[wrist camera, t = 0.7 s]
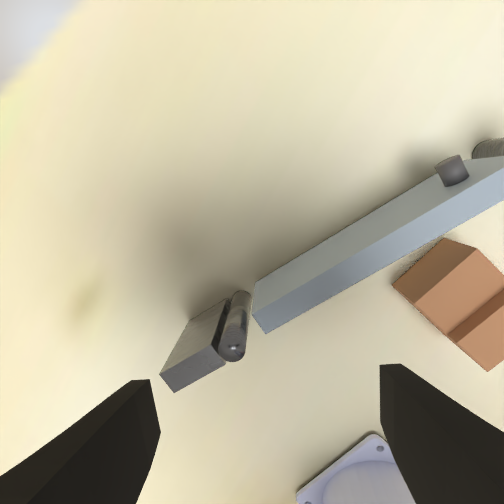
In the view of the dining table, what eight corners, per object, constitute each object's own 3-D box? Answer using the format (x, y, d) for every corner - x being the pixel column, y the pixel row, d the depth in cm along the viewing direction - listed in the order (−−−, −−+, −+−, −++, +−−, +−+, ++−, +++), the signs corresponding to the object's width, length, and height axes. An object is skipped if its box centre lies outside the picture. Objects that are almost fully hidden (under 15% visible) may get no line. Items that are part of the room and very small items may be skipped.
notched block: (496, 291, 18) (555, 320, 14) (444, 334, 19) (487, 372, 15) (442, 237, 17) (489, 252, 14) (390, 284, 18) (422, 310, 15)
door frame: (503, 157, 16) (630, 145, 10) (200, 336, 20) (173, 399, 14) (492, 135, 16) (617, 109, 10) (188, 319, 19) (155, 376, 14)
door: (465, 180, 16) (539, 179, 12) (265, 298, 18) (265, 334, 14) (448, 144, 16) (517, 130, 11) (246, 269, 18) (239, 297, 14)
